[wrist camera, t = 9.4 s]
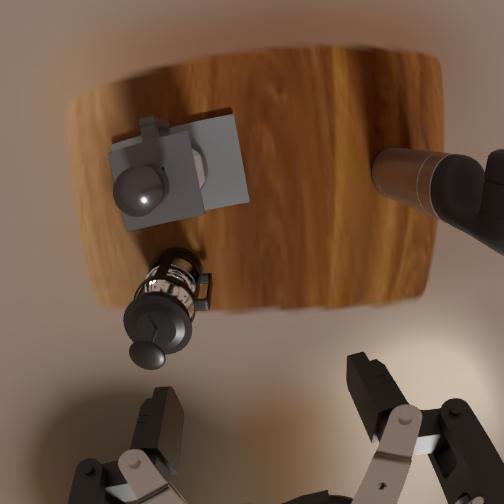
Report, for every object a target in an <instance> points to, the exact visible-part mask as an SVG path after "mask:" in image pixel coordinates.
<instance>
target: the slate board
mask: <svg viewBox="0 0 504 504" xmlns="http://www.w3.org/2000/svg"><path fill="white" fill-rule="evenodd" d="M170 129H171V135H172V134H176V133H180V132H184V131H189V136H190V141H191V144H192V145H194V146H196V147H197V148H198V149H199V150H200V151H201V152H202V153H203V155H204V157H205V159H206V161H207V165H208V175H207V180H206V182H205V184H204V186H203V188H202V189H201V190H200V191H201V195H202V200H203V205H204V209H205V210H210V209H215V208H220V207H225V206H230V205H235V204H241V203H246V202H250V201H249V196H248V190H247V184H246V179H245V173H244V168H243V163H242V157H241V152H240V146H239V141H238V135H237V130H236V124H235V119H234V114H231V115H225V116H220V117H215V118H210V119H205V120H200V121H196V122H191V123H187V124H183V125H178V126H174V127H170ZM138 143H142V137H141V136H137V137H134V138H131V139H127V140H124V141H121V142H118V143H115V144H111V149H112V151H115V150H118V149H122V148H125V147H128V146H132V145H135V144H138Z"/></svg>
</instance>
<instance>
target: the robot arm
mask: <svg viewBox="0 0 504 504" xmlns="http://www.w3.org/2000/svg"><path fill="white" fill-rule="evenodd" d="M372 180H373V183H374V186H375V187H376V189H377V191H378V192H379V193H380V194H382V195H383V196H385V197H387V198H390V199H392V200H395V201H397V202H399V203H402V204H404V205H407V206H409V207H411V208H414V209H416V210H418V211H421V212H423V213H425V214H428V215H430V216H432V217H435V218H437V219H439V220H441V221H444V222H446V223H448V224H450V225H451V226H453V227H455V228H457V229H459V230H461V231H463V232H465V233H467V234H468V235H470V236H472V237H474V238H475V239H477V240H478V241H480V242H482V243H483V244H485V245H486V246H488V247H489V248H491V249H493V250H495V251H496V252H498V253H499V254H501V255H503V256H504V149H500V150H495V151H493V152H491V154H490V155H489V156H488V159H487V164H486V170H485V172H484V170H483V168H482V166H481V165H480V164H479V163H478V162H477V161H476V160H474V159H473V158H471V157H469V156H465V155H459V154H451V153H442V152H434V151H425V150H416V149H406V148H387V149H384V150H383V151H381V152H380V153H379V154H378V155H377V157H376V158H375V160H374V162H373V165H372ZM346 380H347V386H348V390H349V392H350V394H351V396H352V399H353V401H354V404H355V406H356V408H357V410H358V412H359V415H360V417H361V419H362V422H363V424H364V426H365V429H366V431H367V433H368V436H369V438H370V440H371V443H374V442H376V441H379V442H380V444H379V446H378V448H377V451H376V453H375V454H374V456H373V458H372V461H371V463H370V465H369V468H368V470H367V472H366V474H365V477H364V479H363V481H362V483H361V485H360V487H359V489H358V491H357V493H356V495H355V497H354V499H353V498H350V497H346V496H340V495H329V494H328V490H325V491H321V492H317V493H313V494H308V495H303V496H300V497H298V498H295V499H293V500H290V501H288V502H285V503H282V504H397V501H398V498H399V496H400V493H401V491H402V488H403V485H404V483H405V480H406V477H407V474H408V471H409V468H410V465H411V461H412V460H411V458H412V455H420V454H428V456H429V459H430V461H431V463H432V465H433V468H434V470H435V472H436V475H437V477H438V479H439V482H440V484H441V487H442V489H443V492H444V494H445V496H446V499H447V502H448V504H504V463H503V462H502V460H501V458H500V456H499V454H498V452H497V451H496V449H495V447H494V445H493V444H492V442H491V440H490V439H489V437H488V435H487V434H486V432H485V431H484V429H483V427H482V425H481V424H480V422H479V421H478V419H477V417H476V416H475V414H474V413H473V411H472V409H471V408H470V406H469V405H468V404H467V402H465V401H464V400H462V399H458V398H455V399H454V398H453V399H449V400H448V401H446V402H445V403H444V404H443V405H442V407H441V408H439V409H432V410H419V409H418V408H417V407H415V406H413V405H410V404H409V403H408V402H407V400H406V399H405V397H404V395H403V394H402V392H401V391H400V389H399V387H398V386H397V384H396V382H395V381H394V380H393V378H392V376H391V375H390V373H389V371H388V370H387V368H386V366H385V365H384V364H382V363H381V362H379V361H378V360H377V359H375V360H372V361H369V359H368V358H367V356H366V354H365V353H364V352H360V353H356V354H352V355H349V356H347V374H346ZM183 424H184V411H183V408H182V405H181V403H180V402H179V400H178V398H177V396H176V393H175V391H174V389H173V388H172V387H171V386H168V387H156V388H155V389H154V393H153V397H152V398H148V399H146V400H145V402H144V403H143V405H142V406H141V408H140V412H139V417H138V419H137V425H136V427H135V431H134V435H133V439H132V443H131V447H130V450H129V451H126V452H125V453H123V454H122V455H121V457H120V458H119V460H118V461H114V462H110V463H105V464H101V463H100V462H99V461H97V460H96V459H93V458H88V459H85V460H83V461H81V462H80V463H79V464H78V466H77V468H76V471H75V475H74V479H73V483H72V487H71V492H70V496H69V501H68V504H131V501H133V500H139V501H138V504H188V503H187V502H186V501H185V500H184V498H183V497H182V496H181V495H180V494H179V492H178V491H177V490H176V489H175V488H174V486H173V485H172V484H171V483H170V474H178V472H179V462H180V451H181V443H182V434H183Z"/></svg>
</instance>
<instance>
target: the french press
mask: <svg viewBox="0 0 504 504" xmlns="http://www.w3.org/2000/svg"><path fill="white" fill-rule="evenodd" d="M175 257H179V258H182V259H184V260H186V261H188V262H189V263H190V264H191V265H192V266H193V267H194V269H195V272H196V279H195V280H194V278H193V277H192V276H191V274H190V273H189V272H188V271H187V270H185V269H184V268H182V267H180V266H178V265H174V264H172V262H173V260H174V258H175ZM161 261H162V262H161ZM160 262H161V264H160ZM159 264H160V266H159ZM201 284H208V290H207V297H206V298H204V299H198V296H199V290H200V286H201ZM212 284H213V282H212V274H211V273H205V274H203V268H202V265H201V263H200V261H199V260H198V258H197V257H196V256H195V255H194V254H193V253H191V252H190V251H188V250H185V249H182V248H168V249H165V250H163V251H161V252H160V253H159V254H158V255H157V256H156V257H155V258H154V260H153V262H152V264H151V267H150V269H149V272H148V276H147V277H146V280H144V281H143V282H142V283H141V284H140V286H139V288H138V289H137V291H136V293H135V296H134V300H133V301H132V302H131V303H130V304H129V305H128V307H127V308H126V310H125V313H124V320H123V321H124V327H125V330H126V332H127V334H128V336H129V337H130V339H131V340H132V341H133V342H134V343H133V344H132V345H131V346H130V349H129V355H130V357H131V359H132V361H133V362H134V363H135V364H136V365H138V366H139V367H141V368H143V369H147V370H156V369H159V368H160V367H162V366H163V365H164V363H165V359H166V358H165V354H172V353H176V352H178V351H180V350H182V349H183V348H184V347H185V346H186V345H187V344H188V343H189V340H190V338H191V334H192V324H191V323H192V322H193V319H194V317H195V312H196V311H201V310H209V309H210V302H211V293H212ZM142 286H143V287H142ZM141 287H142V289H141V290H140V292H139V294H138V290H139V289H140V288H141ZM137 294H138V296H137ZM192 305H194V313H193V316H192V317H191V319H190V316H189V312H188V310H187V309H188V308H189V307H191V306H192Z"/></svg>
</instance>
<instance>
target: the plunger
mask: <svg viewBox="0 0 504 504" xmlns="http://www.w3.org/2000/svg"><path fill="white" fill-rule="evenodd" d="M168 192H169V179H168V176H167V174H166V173H165V171H164V170H163V169H162V168H160V167H159V166H157V165H154V164H143V165H139V166H135V167H131V168H128V169H126V170H124V171H123V172H122V173H121V174H120V175H119V176H118V177H117V179H116V181H115V183H114V187H113V196H114V200H115V202H116V205H117V206H118V208H119V209H120V210H121V211H122V212H124V213H125V214H127V215H129V216H133V217H141V216H145V215H147V214H149V213H150V212H152V211H153V210H154V209H155V208H156V207H157V206H158V205H160V204H161V203H162V202H163V201H164V200H165V198H166V197H167V195H168Z"/></svg>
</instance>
